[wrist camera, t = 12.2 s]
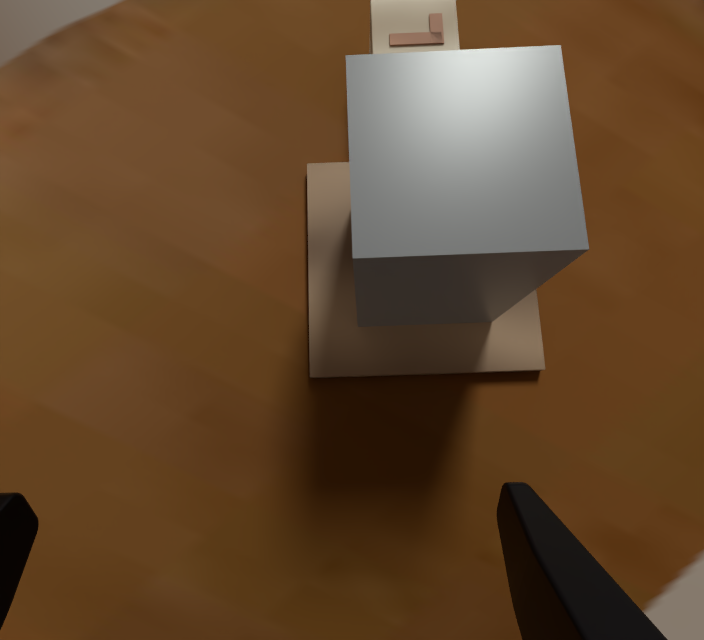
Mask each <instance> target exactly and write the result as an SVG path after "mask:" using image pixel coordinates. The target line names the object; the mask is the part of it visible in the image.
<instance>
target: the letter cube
mask: <svg viewBox="0 0 704 640" xmlns="http://www.w3.org/2000/svg"><path fill="white" fill-rule="evenodd" d="M450 50H460V49H459V37H458V24H457V12H456V0H370V54H386V53H407V52H428V51H450Z"/></svg>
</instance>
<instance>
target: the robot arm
mask: <svg viewBox="0 0 704 640" xmlns="http://www.w3.org/2000/svg"><path fill="white" fill-rule="evenodd" d="M497 522H498V528H499V533H500V539H501V544H502V550H503V555H504V560H505V566H506V571H507V577H508V582H509V587H510V593H511V598H512V603H513V607H514V611H515V615H516V619H517V622H518V626H519V629H520V633H521V636H522V639H523V640H667V639H666V637H664V635H663V634H662V633H661V632H660V631H659V630H658V629H657V627H656V626H655V625H654V624H653V623H652V622H651V621H650V620H649V618H648V617H647V616H646V615H645V614H644V613H643V612H642V611H641V610H640V608H639V607H638V606H637V605H636V604H635V603H634V602H633V601H632V600H631V598H630V597H629V596H628V595H627V594H626V593H625V592H624V591H623V590H622V588H621V587H620V586H619V585H618V584H617V583H616V582H615V581H614V579H613V578H612V577H611V576H610V575H609V574H608V573H607V572H606V571H605V569H604V568H603V567H602V566H601V565H600V564H599V563H598V562H597V561H596V559H595V558H594V557H593V556H592V555H591V554H590V553H589V552H588V551H587V549H586V548H585V547H584V546H583V545H582V544H581V543H580V542H579V540H578V539H577V538H576V537H575V536H574V535H573V534H572V533H571V532H570V530H569V529H568V528H567V527H566V526H565V525H564V524H563V523H562V522H561V520H560V519H559V518H558V517H557V516H556V515H555V514H554V513H553V512H552V510H551V509H550V508H549V507H548V506H547V505H546V504H545V503H544V501H543V500H542V499H541V498H540V497H539V496H538V495H537V494H536V493H535V491H534V490H533V489H532V488H531V487H530V486H529V485H528V484H526V483H524V482H507V483H504V484H503V486H502V489H501V493H500V498H499V502H498V507H497ZM37 531H38V518H37V516H36V514H35V513H34V511H33V510H32V508H31V507H30V505H29V504H28V502H27V500H26V499H25V497H24V496H23V495H22V494H20V493H0V629H1V627H2V625H3V623H4V620H5V618H6V616H7V613H8V611H9V608H10V606H11V603H12V601H13V598H14V595H15V592H16V590H17V587H18V584H19V581H20V578H21V576H22V573H23V570H24V567H25V565H26V562H27V559H28V556H29V553H30V551H31V548H32V545H33V542H34V540H35V537H36V534H37Z"/></svg>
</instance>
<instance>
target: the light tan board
mask: <svg viewBox="0 0 704 640" xmlns="http://www.w3.org/2000/svg"><path fill="white" fill-rule="evenodd" d="M307 201H308V281H309V361H310V378H332V377H362V376H393V375H423V374H454V373H484V372H515V371H541V370H545V363H544V354H543V345H542V336H541V327H540V318H539V309H538V301H537V292H536V289H535V290H534V291H533V292H531V293H530V294H529V295H527V296H526V297H525V298H523V299H522V300H521V301H519V302H518V303H517V304H515V305H514V306H513V307H511V308H510V309H509V310H507V311H506V312H505V313H503V314H502V315H501V316H499V317H498V318H497V319H495V320H494V321H493V322H479V323H452V324H424V325H396V326H369V327H358V323H357V309H356V296H355V283H354V270H353V254H352V225H351V195H350V166H349V162H336V163H312V164H307Z"/></svg>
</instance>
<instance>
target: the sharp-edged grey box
mask: <svg viewBox="0 0 704 640" xmlns="http://www.w3.org/2000/svg"><path fill="white" fill-rule="evenodd" d="M346 77H347V106H348V136H349V166H350V195H351V225H352V254H353V270H354V283H355V296H356V309H357V323H358V327H369V326H396V325H424V324H452V323H479V322H493V321H494V320H495V319H497V318H498V317H499V316H501V315H502V314H503V313H505V312H506V311H507V310H509V309H510V308H511V307H513V306H514V305H515V304H517V303H518V302H519V301H521V300H522V299H523V298H525V297H526V296H527V295H529V294H530V293H531V292H533V291H534V290H535V289H537V288H538V287H539V286H541V285H542V284H543V283H545V282H546V281H547V280H549V279H550V278H551V277H553V276H554V275H555V274H557V273H558V272H559V271H561V270H562V269H563V268H565V267H566V266H567V265H569V264H570V263H571V262H573V261H574V260H575V259H577V258H578V257H579V256H581V255H582V254H583V253H585V252H586V251H587V250H589V245H588V238H587V231H586V224H585V217H584V210H583V202H582V195H581V188H580V181H579V174H578V167H577V160H576V152H575V145H574V138H573V131H572V124H571V117H570V109H569V102H568V95H567V88H566V81H565V74H564V67H563V59H562V52H561V45H555V46H534V47H513V48H492V49H471V50H450V51H428V52H407V53H386V54H365V55H346Z"/></svg>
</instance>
